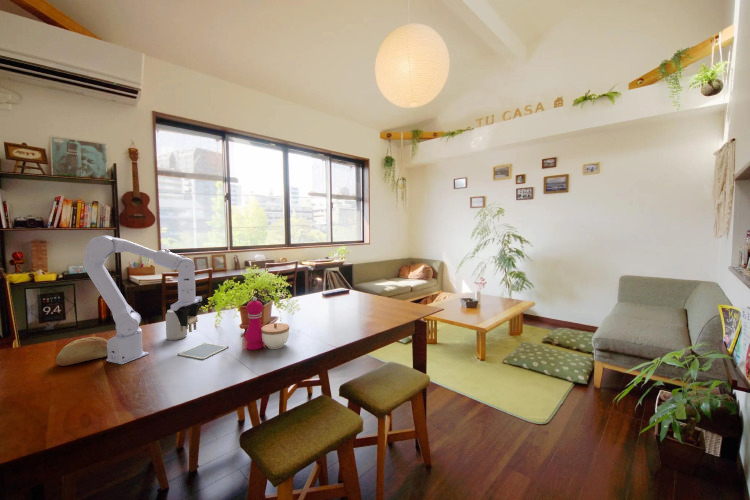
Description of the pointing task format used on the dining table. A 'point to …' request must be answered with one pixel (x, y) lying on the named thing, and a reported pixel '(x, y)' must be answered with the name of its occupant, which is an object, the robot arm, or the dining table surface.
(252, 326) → the pepper mill
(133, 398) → the dining table surface
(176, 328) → the can
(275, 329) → the lidded jar
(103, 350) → the bread roll
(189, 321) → the small wooden stool
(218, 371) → the dining table surface
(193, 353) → the mat
